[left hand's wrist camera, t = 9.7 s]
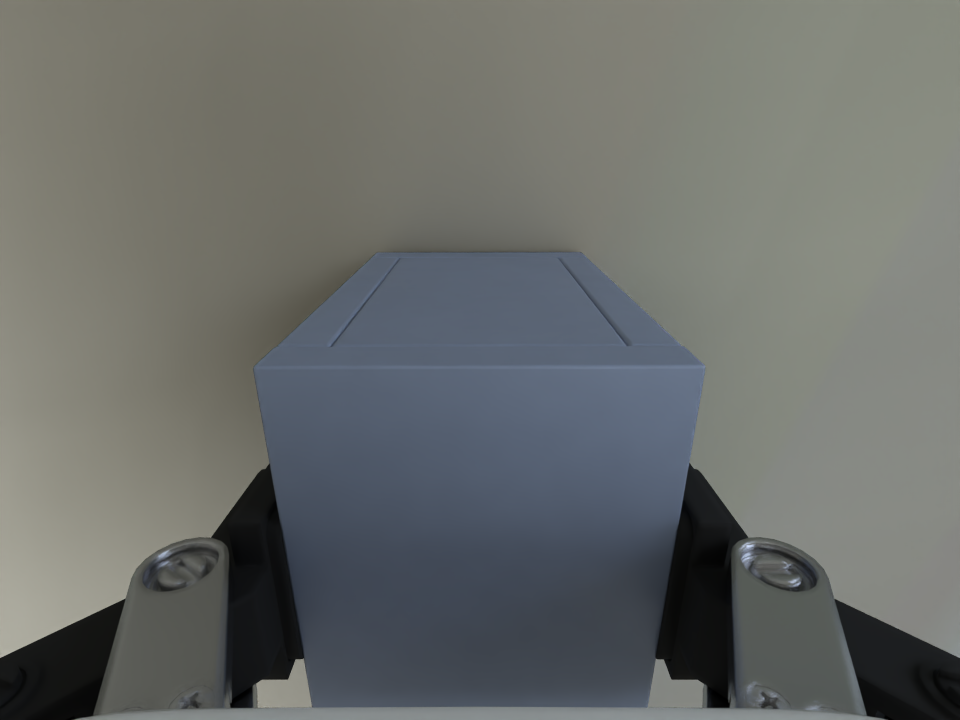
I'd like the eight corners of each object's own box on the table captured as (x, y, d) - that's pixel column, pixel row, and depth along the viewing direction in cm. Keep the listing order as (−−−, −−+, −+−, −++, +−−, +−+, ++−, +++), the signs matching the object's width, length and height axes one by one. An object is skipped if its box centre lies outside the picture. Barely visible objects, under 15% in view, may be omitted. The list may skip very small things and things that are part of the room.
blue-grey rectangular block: (550, 702, 23) (593, 1028, 14) (409, 703, 23) (368, 1028, 14) (582, 251, 15) (707, 365, 7) (375, 252, 15) (251, 366, 7)
